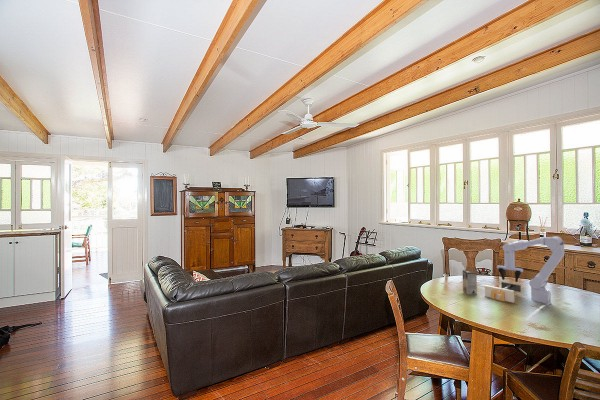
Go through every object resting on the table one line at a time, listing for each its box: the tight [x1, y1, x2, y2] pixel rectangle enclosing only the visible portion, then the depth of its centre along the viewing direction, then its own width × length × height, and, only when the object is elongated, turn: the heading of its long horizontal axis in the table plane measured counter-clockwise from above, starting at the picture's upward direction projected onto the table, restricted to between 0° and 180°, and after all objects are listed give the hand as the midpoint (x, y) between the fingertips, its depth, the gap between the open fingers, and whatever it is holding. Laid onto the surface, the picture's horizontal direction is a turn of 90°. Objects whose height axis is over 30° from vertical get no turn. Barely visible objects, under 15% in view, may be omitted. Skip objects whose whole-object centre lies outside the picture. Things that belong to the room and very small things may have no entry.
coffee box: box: [462, 269, 478, 295], centre depth 202 cm, size 9×6×16 cm
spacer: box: [491, 290, 506, 302], centre depth 187 cm, size 7×2×7 cm, turn 36°
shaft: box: [500, 281, 522, 293], centre depth 195 cm, size 11×18×4 cm, turn 126°
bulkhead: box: [484, 284, 515, 304], centre depth 188 cm, size 16×2×9 cm, turn 36°
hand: (509, 280), depth 199 cm, fingers open, 7 cm apart
